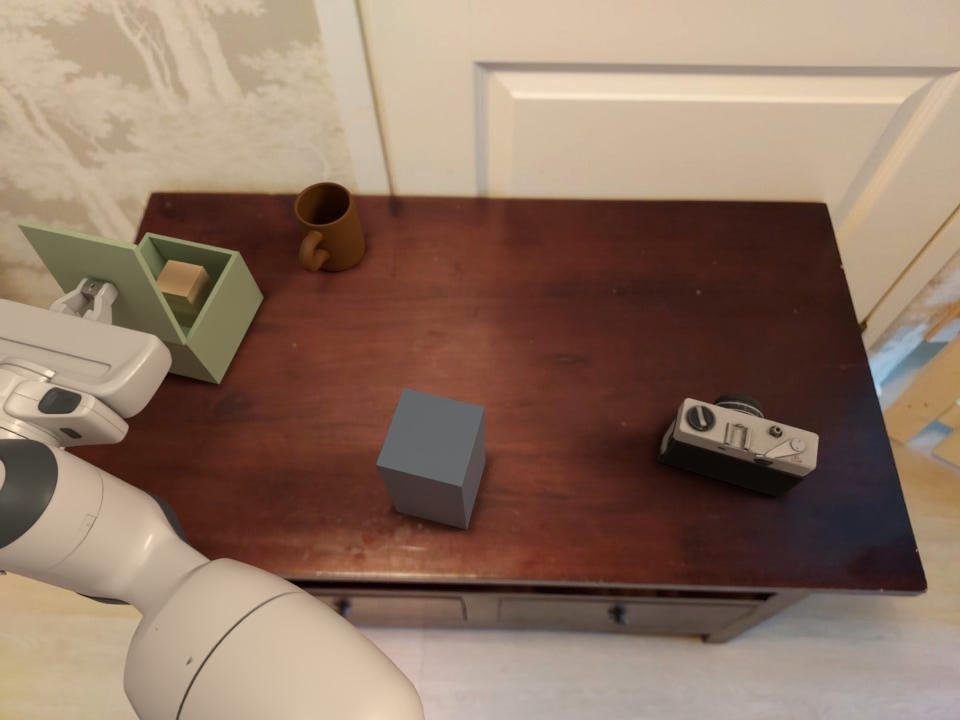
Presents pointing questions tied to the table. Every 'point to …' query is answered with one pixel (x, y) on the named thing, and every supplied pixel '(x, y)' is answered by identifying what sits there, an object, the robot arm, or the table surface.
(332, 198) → the mug
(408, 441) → the block
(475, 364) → the table surface
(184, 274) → the block
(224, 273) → the box
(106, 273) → the box lid
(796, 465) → the camera
